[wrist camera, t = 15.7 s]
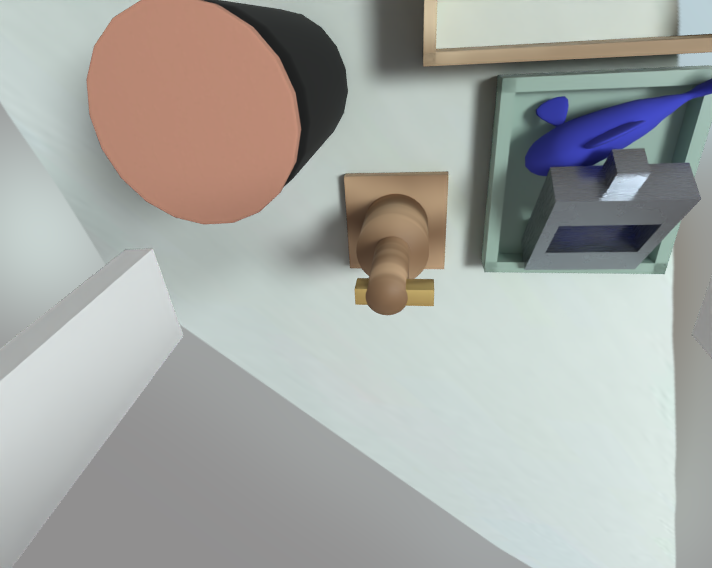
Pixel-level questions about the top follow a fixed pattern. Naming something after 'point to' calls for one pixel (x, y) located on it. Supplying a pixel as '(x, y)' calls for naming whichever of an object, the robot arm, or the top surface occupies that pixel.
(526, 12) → the top surface
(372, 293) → the handle
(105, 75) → the coffee jar
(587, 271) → the tray
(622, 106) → the fish toy
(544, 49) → the crate
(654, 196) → the gray rectangular frame
